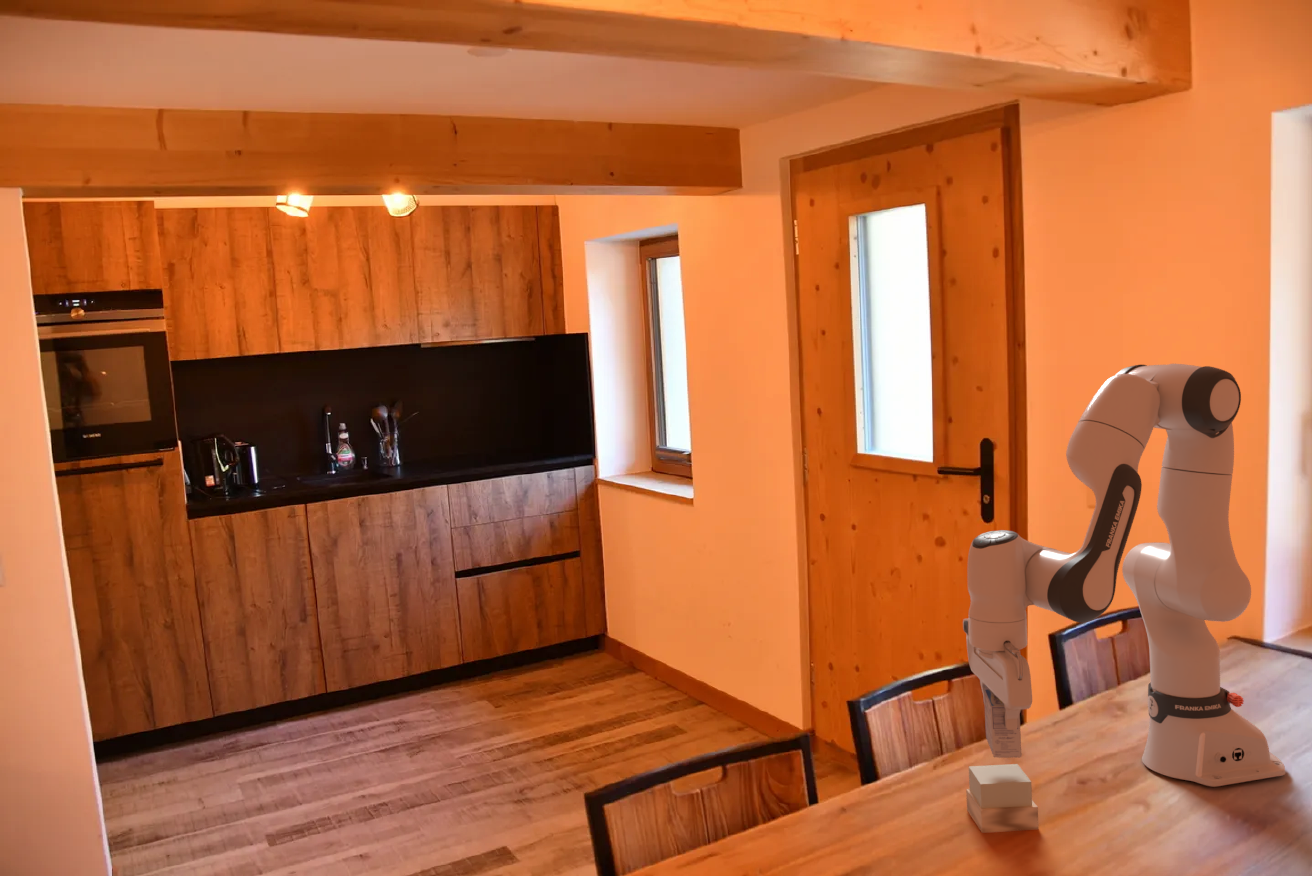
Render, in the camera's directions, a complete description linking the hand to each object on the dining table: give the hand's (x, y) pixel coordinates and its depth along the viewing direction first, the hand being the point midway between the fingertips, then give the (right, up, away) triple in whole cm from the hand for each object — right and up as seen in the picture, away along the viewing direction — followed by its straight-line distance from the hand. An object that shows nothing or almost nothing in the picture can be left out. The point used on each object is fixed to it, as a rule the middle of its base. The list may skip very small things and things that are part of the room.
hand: (1000, 717), depth 169 cm
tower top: (0, -14, +2) cm, 14 cm away
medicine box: (+1, -5, +1) cm, 5 cm away
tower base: (+1, -18, +2) cm, 18 cm away
